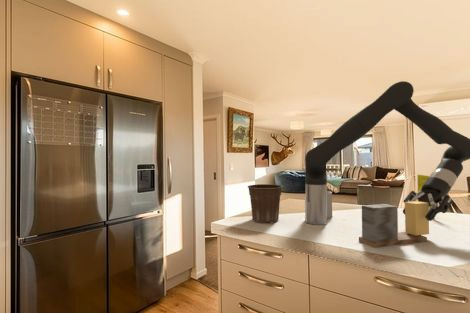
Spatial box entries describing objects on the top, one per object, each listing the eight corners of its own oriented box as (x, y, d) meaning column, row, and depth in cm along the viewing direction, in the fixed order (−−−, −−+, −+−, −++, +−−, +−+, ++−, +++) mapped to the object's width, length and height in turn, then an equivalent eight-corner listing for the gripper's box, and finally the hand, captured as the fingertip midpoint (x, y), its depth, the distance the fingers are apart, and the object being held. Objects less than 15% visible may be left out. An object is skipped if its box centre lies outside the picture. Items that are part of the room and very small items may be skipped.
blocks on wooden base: (374, 247, 82) (374, 208, 82) (358, 241, 89) (358, 205, 89) (426, 241, 88) (426, 204, 88) (408, 235, 95) (407, 201, 95)
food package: (435, 219, 119) (435, 176, 119) (433, 219, 119) (432, 176, 120) (419, 212, 134) (418, 174, 134) (416, 212, 134) (416, 174, 135)
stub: (415, 235, 89) (415, 203, 89) (405, 232, 93) (405, 202, 93) (429, 234, 91) (428, 202, 91) (418, 231, 94) (417, 201, 95)
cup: (335, 217, 125) (335, 192, 125) (317, 218, 124) (317, 193, 124) (327, 213, 134) (327, 190, 134) (310, 214, 133) (310, 191, 133)
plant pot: (276, 226, 109) (275, 188, 110) (242, 222, 117) (241, 186, 117) (287, 218, 124) (286, 185, 124) (256, 215, 131) (256, 183, 132)
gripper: (415, 175, 101) (392, 206, 98) (455, 177, 87) (430, 213, 84) (425, 188, 102) (403, 219, 99) (466, 192, 89) (442, 228, 85)
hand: (415, 216), depth 92 cm, fingers open, 8 cm apart
